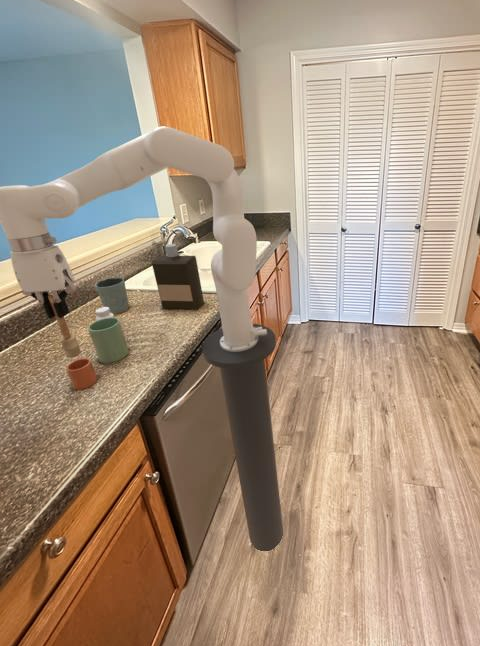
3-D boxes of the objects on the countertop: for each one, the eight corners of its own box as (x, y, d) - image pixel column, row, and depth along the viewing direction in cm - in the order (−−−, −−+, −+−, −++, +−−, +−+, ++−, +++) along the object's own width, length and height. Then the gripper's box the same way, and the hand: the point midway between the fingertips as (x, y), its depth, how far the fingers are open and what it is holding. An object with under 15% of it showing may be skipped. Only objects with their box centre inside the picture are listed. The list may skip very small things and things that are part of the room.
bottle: (170, 300, 135) (156, 242, 125) (206, 301, 132) (195, 242, 122) (159, 309, 127) (144, 248, 118) (197, 310, 125) (185, 248, 115)
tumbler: (131, 345, 104) (122, 315, 100) (125, 360, 97) (115, 328, 92) (104, 350, 102) (93, 319, 98) (95, 365, 95) (83, 333, 91)
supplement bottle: (101, 340, 108) (93, 314, 104) (100, 333, 112) (92, 308, 108) (119, 335, 110) (112, 309, 106) (118, 329, 115) (110, 304, 111)
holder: (100, 374, 91) (93, 356, 89) (93, 387, 86) (86, 368, 84) (78, 377, 90) (71, 360, 88) (69, 391, 85) (62, 372, 83)
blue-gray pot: (118, 302, 135) (110, 276, 131) (137, 305, 132) (130, 278, 127) (97, 313, 127) (88, 285, 122) (117, 316, 123) (108, 288, 119)
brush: (83, 350, 86) (62, 291, 79) (76, 357, 83) (53, 297, 76) (71, 351, 86) (49, 292, 79) (63, 358, 83) (40, 298, 76)
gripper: (77, 237, 76) (99, 306, 83) (8, 240, 76) (37, 310, 83) (56, 245, 69) (83, 321, 77) (-19, 249, 69) (15, 325, 76)
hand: (59, 315), depth 80 cm, fingers closed on brush
